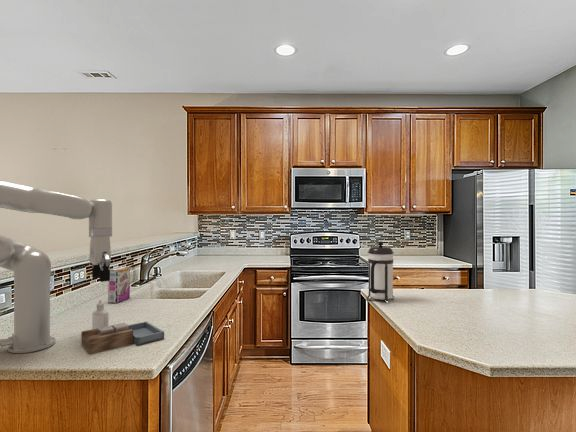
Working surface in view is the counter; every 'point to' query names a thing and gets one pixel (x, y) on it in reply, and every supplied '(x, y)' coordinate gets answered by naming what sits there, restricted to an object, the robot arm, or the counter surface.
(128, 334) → the slot block
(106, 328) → the chip
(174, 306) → the counter surface
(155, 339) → the tray
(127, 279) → the candy bar box
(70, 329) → the counter surface
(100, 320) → the eye dropper bottle
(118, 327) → the chip
